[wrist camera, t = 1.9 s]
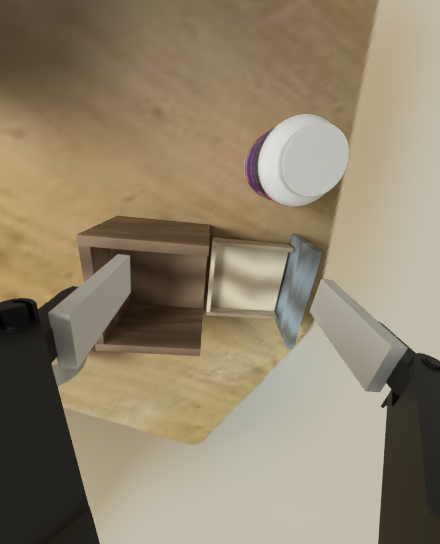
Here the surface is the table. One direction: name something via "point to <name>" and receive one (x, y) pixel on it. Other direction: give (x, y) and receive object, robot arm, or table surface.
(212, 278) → the grey drawer
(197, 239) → the wooden drawer box
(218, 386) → the table surface
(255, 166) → the pill bottle
